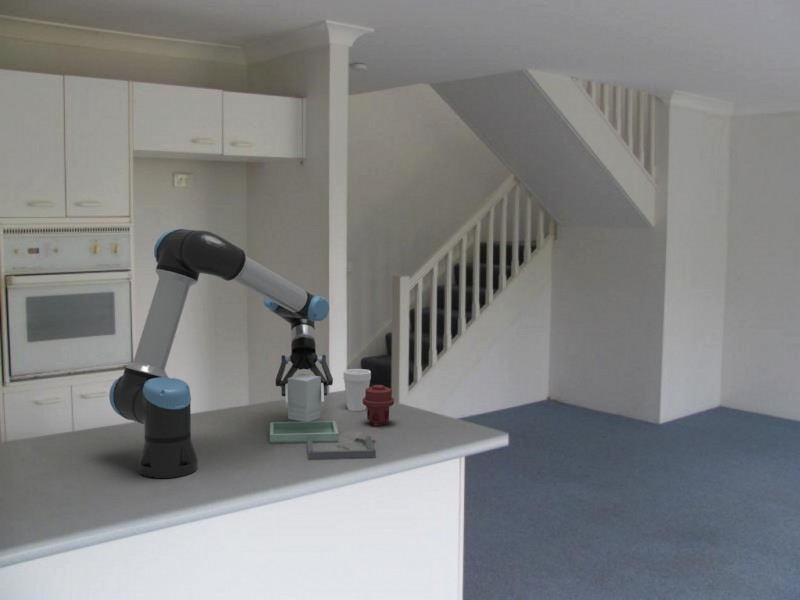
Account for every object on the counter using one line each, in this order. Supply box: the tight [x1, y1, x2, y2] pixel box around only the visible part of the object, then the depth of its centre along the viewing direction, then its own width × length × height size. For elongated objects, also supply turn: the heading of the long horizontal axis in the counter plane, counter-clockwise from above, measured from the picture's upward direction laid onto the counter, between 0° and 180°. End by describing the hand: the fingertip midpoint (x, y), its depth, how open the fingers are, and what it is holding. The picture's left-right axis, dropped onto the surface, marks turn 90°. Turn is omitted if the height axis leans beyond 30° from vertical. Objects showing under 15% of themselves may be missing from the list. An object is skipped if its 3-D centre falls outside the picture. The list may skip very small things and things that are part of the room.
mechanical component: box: [363, 384, 395, 427], centre depth 264 cm, size 12×10×10 cm
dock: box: [306, 435, 377, 460], centre depth 235 cm, size 18×15×2 cm
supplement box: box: [287, 373, 322, 422], centre depth 248 cm, size 7×7×13 cm
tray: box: [269, 420, 339, 445], centre depth 249 cm, size 20×14×3 cm
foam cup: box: [343, 368, 372, 412], centre depth 283 cm, size 10×9×13 cm
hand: (304, 404), depth 246 cm, fingers closed on supplement box, 10 cm apart
